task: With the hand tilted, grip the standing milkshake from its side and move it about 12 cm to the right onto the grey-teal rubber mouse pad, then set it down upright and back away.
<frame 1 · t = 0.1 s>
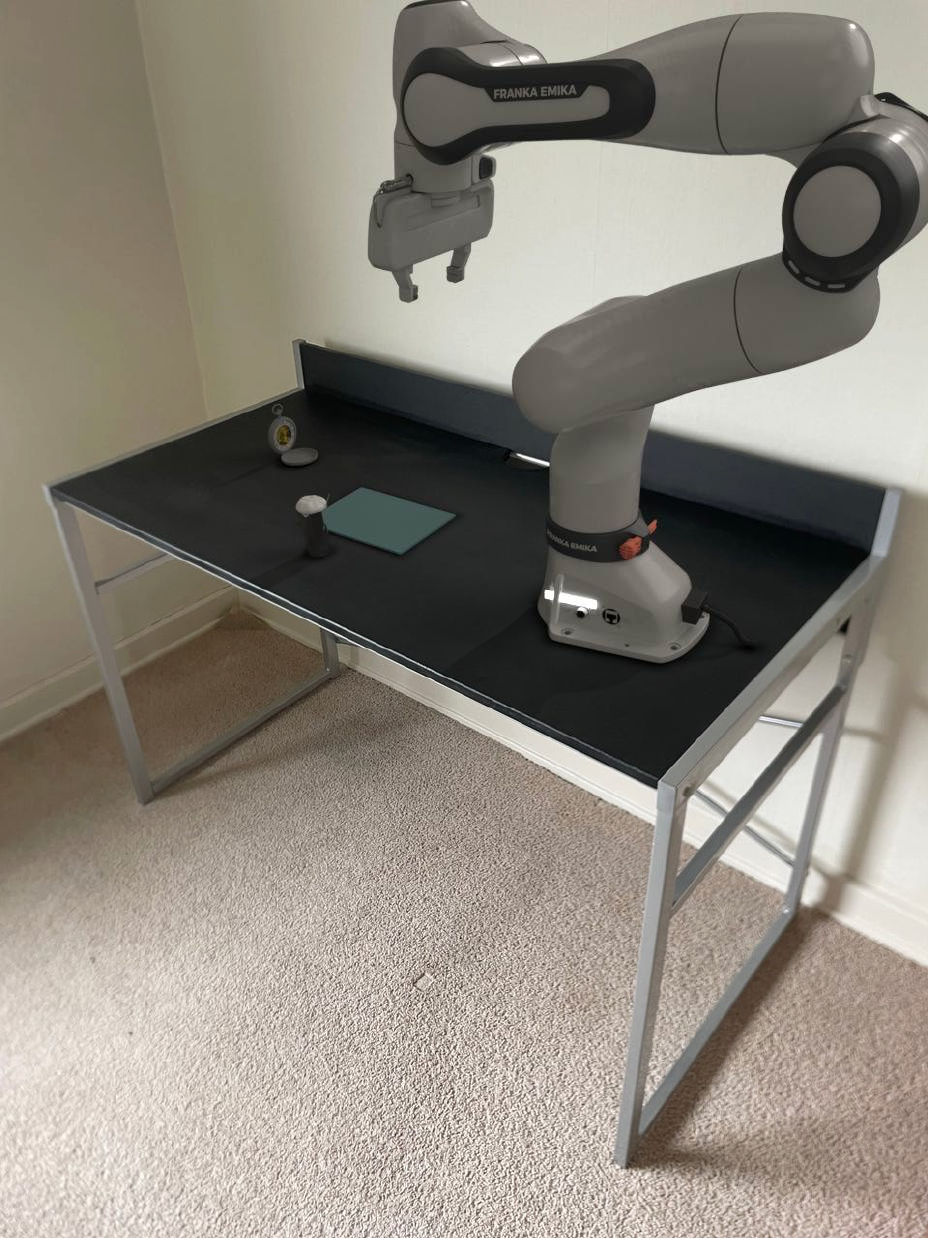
hand: (432, 290, 113), 39 cm above the table, tool pointing down, fingers open, 8 cm apart
milkshake: (321, 553, 139), on the table
mouse pad: (379, 520, 147), on the table
pocket watch: (296, 459, 169), on the table
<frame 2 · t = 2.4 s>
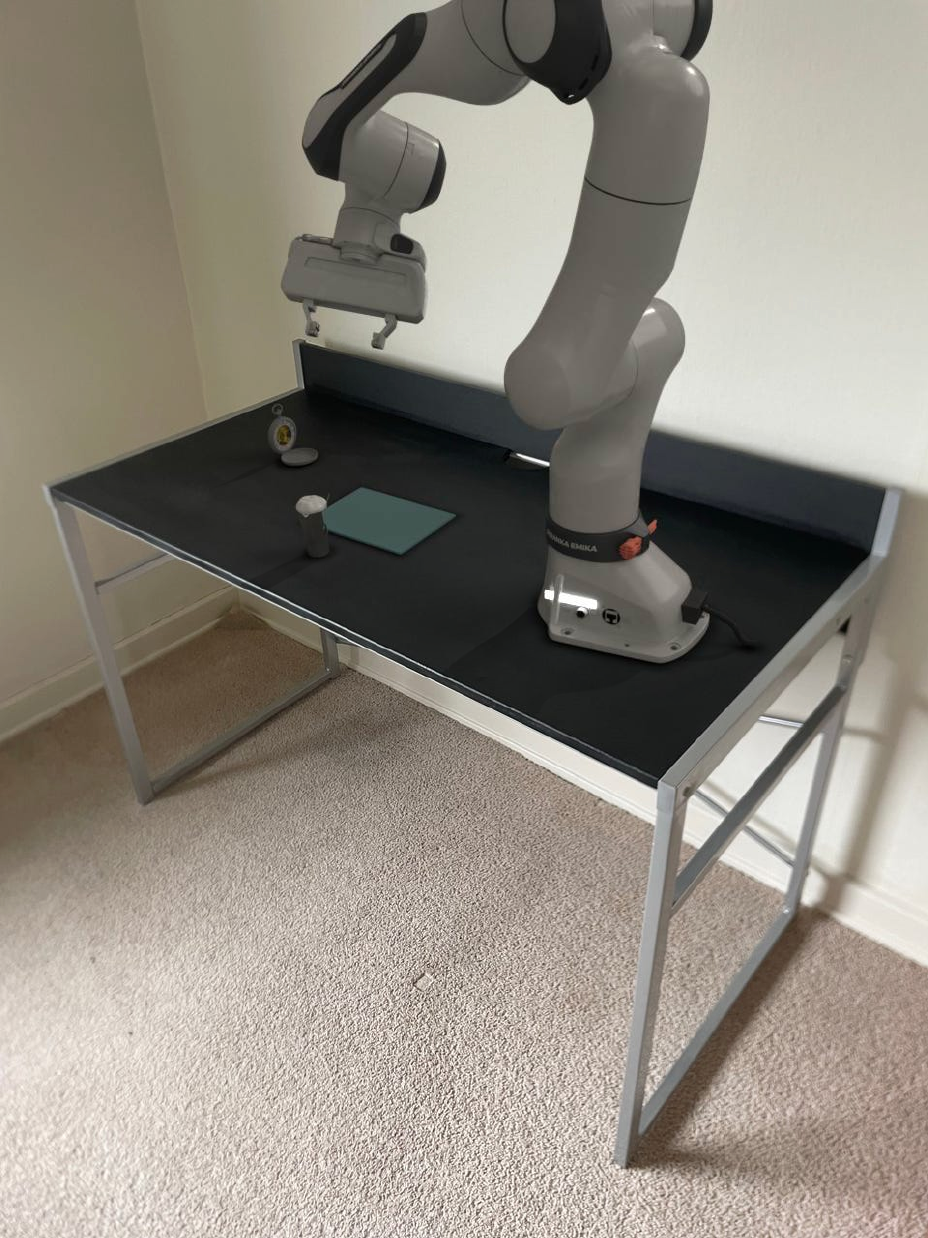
hand: (344, 341, 127), 30 cm above the table, tool tilted 40°, fingers open, 8 cm apart
nothing on the table moved.
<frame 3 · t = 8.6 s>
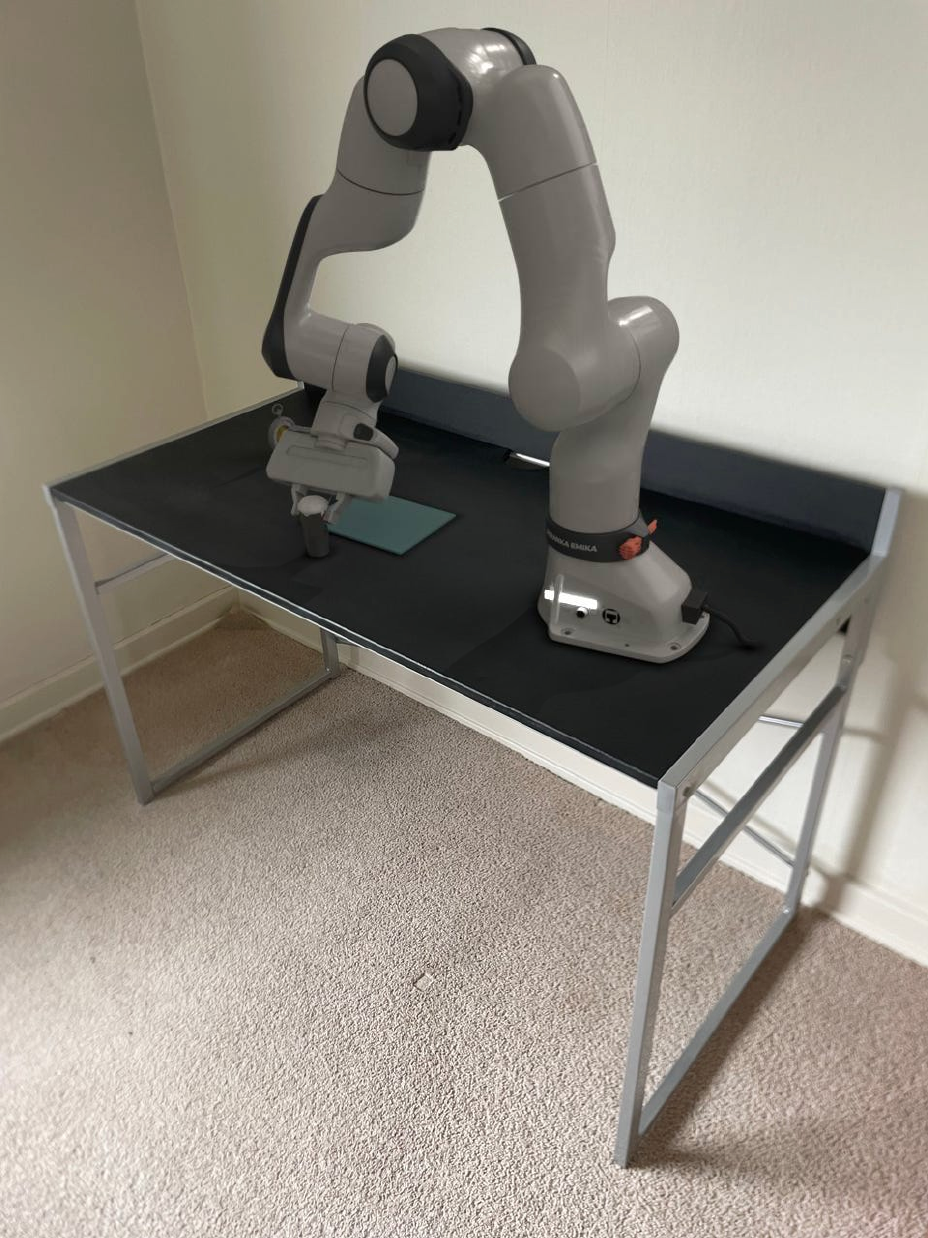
hand: (313, 520, 136), 6 cm above the table, tool tilted 45°, fingers closed on milkshake, 4 cm apart
milkshake: (321, 553, 139), on the table, touching gripper
everything else where it was.
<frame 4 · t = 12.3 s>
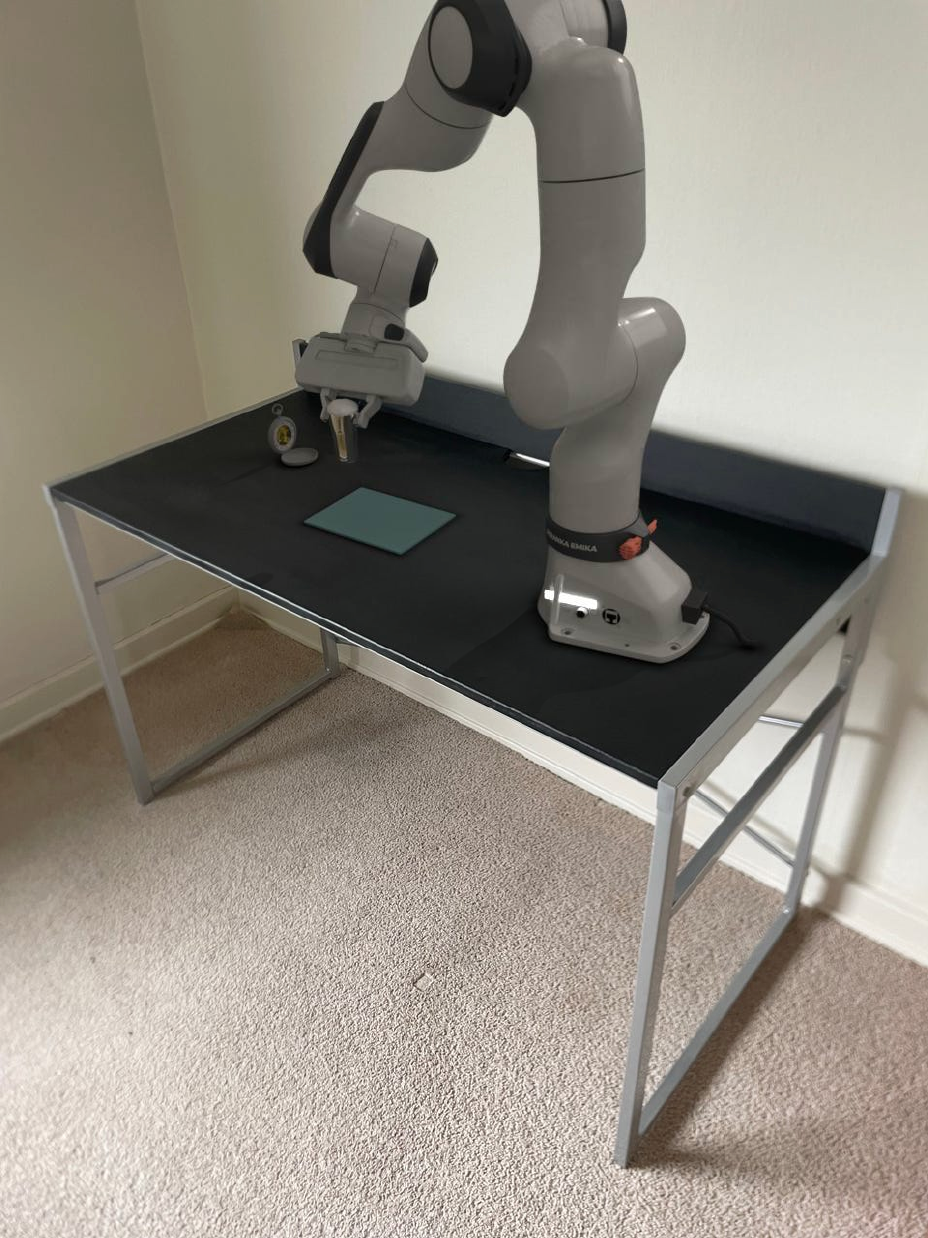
hand: (342, 423, 135), 18 cm above the table, tool tilted 45°, fingers closed on milkshake, 4 cm apart
milkshake: (350, 459, 139), point 12 cm above the table, touching gripper
everything else where it was.
when the fingers open (6 cm above the table, at t = 16.2 s): milkshake stays where it is, resting on mouse pad.
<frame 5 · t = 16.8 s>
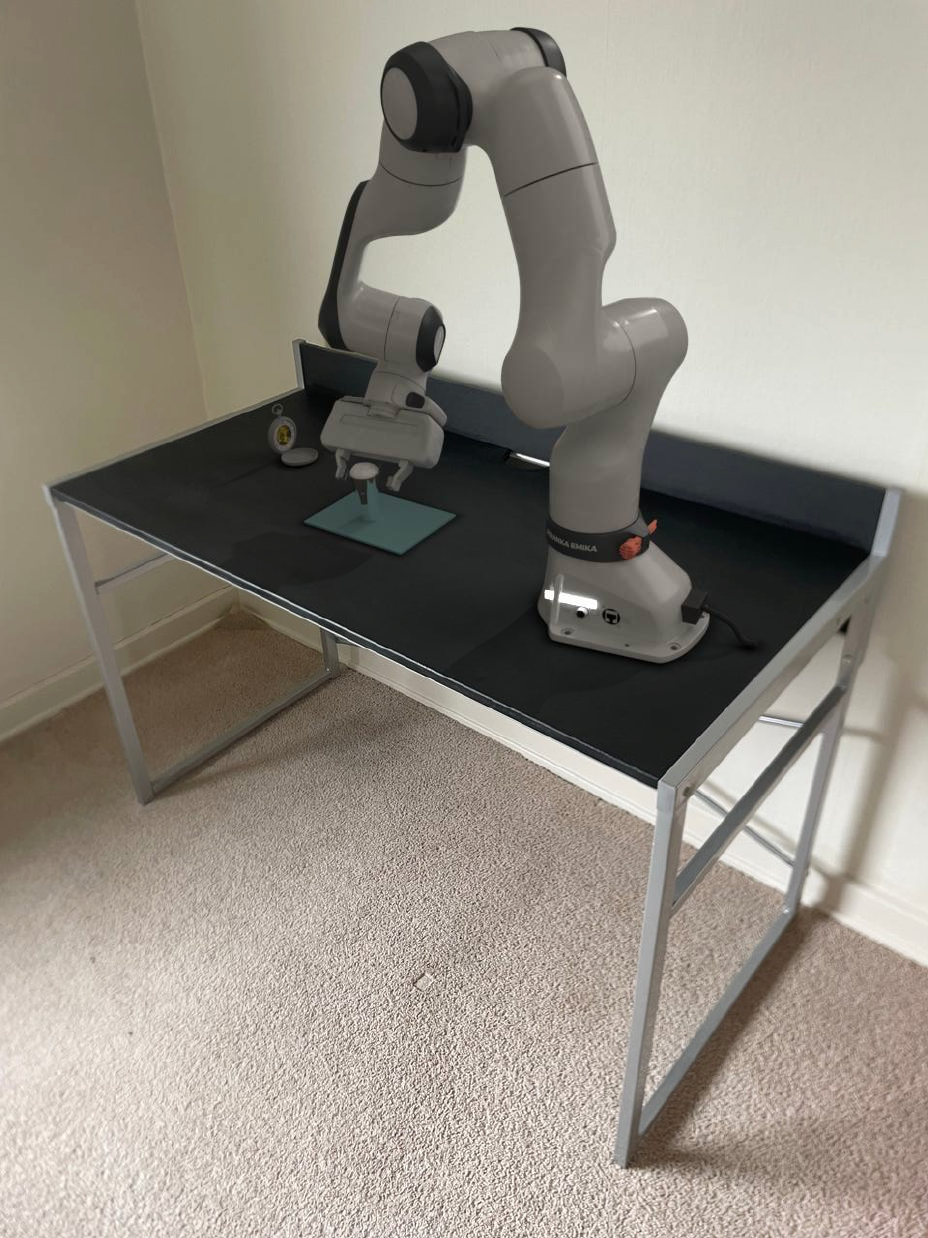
hand: (366, 484, 143), 7 cm above the table, tool tilted 45°, fingers open, 8 cm apart
milkshake: (372, 518, 147), resting on mouse pad
everything else where it was.
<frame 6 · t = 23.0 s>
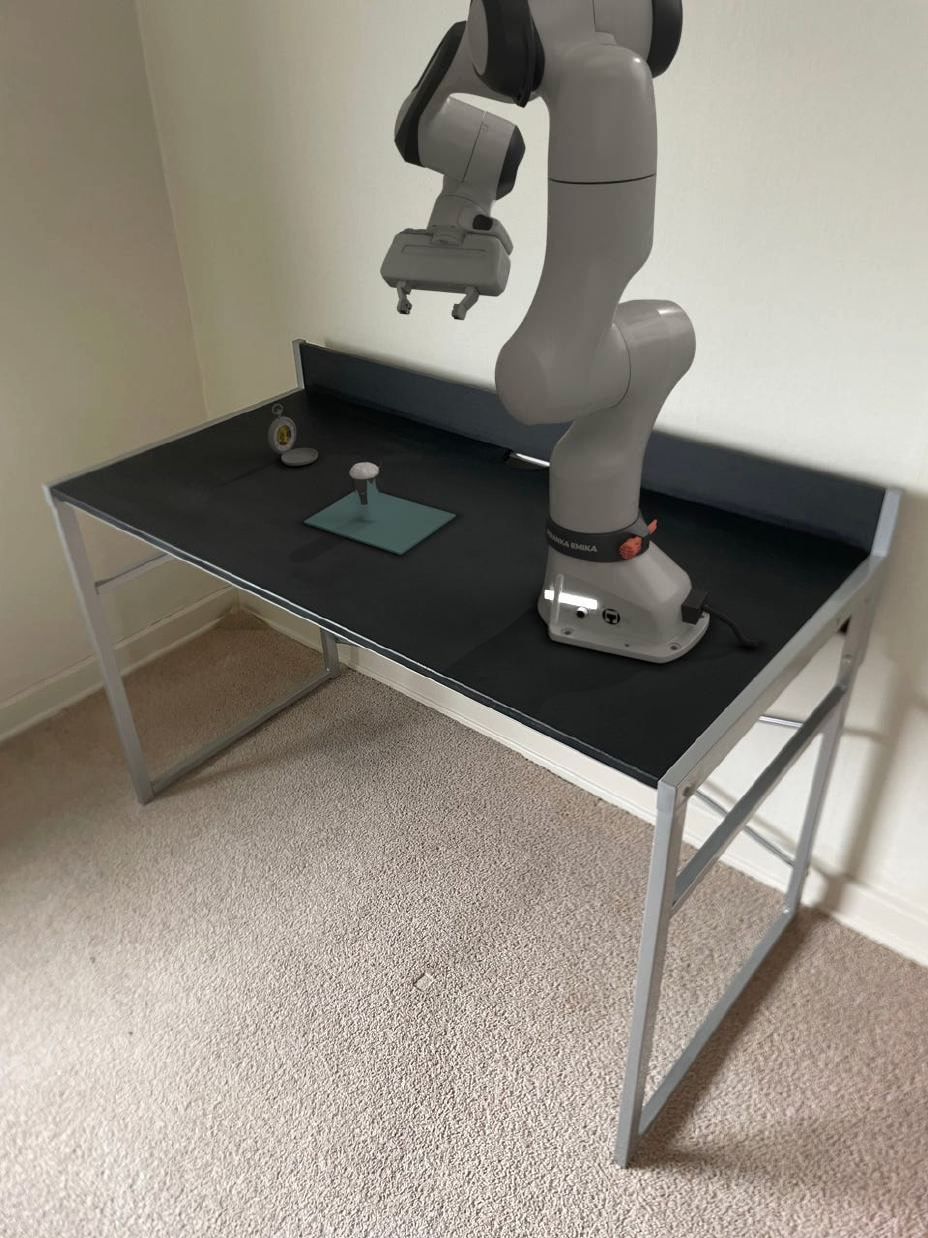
hand: (429, 315, 137), 29 cm above the table, tool tilted 45°, fingers open, 8 cm apart
nothing on the table moved.
at the end: milkshake inside the target area on the mouse pad (1.2 cm from its centre), point 0.2 cm above the mouse pad's base; milkshake tilted 0°; the gripper is holding nothing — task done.
